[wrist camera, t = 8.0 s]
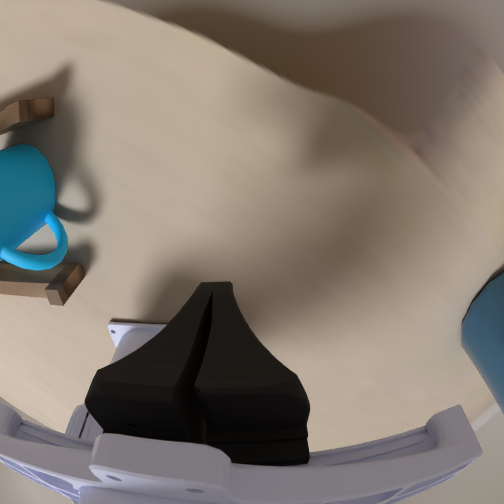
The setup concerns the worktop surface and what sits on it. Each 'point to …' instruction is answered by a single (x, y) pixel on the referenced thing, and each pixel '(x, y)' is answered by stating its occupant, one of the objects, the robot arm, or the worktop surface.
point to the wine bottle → (487, 336)
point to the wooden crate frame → (26, 280)
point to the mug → (27, 206)
